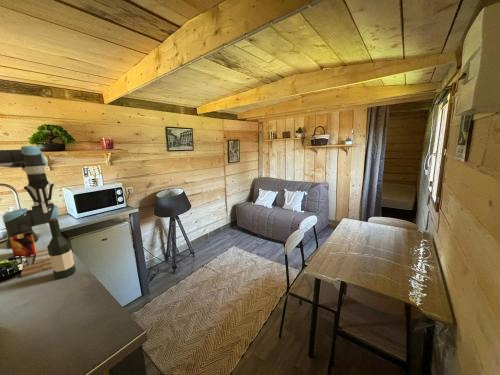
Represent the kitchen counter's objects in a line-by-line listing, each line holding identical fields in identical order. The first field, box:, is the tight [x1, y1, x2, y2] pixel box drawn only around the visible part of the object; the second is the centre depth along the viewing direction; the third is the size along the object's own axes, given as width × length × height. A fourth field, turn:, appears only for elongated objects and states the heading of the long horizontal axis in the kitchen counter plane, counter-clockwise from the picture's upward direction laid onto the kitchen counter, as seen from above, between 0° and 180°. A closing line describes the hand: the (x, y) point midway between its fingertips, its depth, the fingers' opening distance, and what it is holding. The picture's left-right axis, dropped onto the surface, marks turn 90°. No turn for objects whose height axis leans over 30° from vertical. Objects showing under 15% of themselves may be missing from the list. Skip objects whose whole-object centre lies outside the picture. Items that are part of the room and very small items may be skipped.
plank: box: [33, 247, 50, 264], centre depth 126 cm, size 18×8×2 cm, turn 41°
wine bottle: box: [46, 218, 77, 280], centre depth 105 cm, size 8×8×30 cm
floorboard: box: [20, 260, 53, 278], centre depth 115 cm, size 11×16×2 cm
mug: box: [9, 233, 38, 258], centre depth 129 cm, size 10×14×12 cm
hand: (45, 212), depth 126 cm, fingers closed
